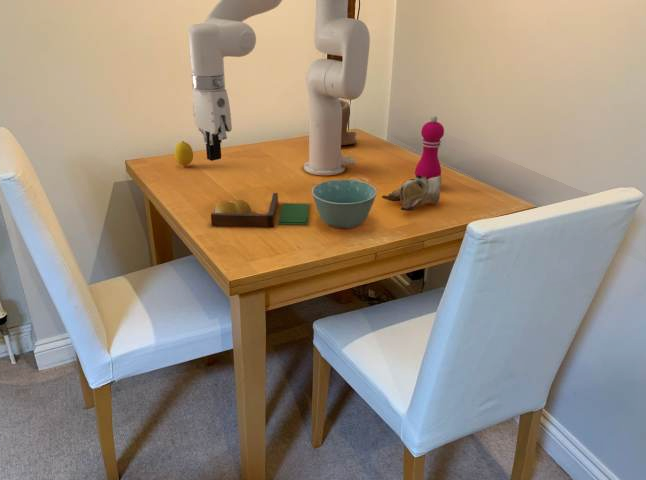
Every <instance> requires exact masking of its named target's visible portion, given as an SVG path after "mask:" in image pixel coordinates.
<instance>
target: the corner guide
mask: <svg viewBox="0 0 646 480" xmlns="http://www.w3.org/2000/svg"><path fill="white" fill-rule="evenodd" d="M278 206H279V193H278V192H273V193H272V196H271V201H270V206H269V209H268V212H267V213H250V214H240V213H215V212H211V214H210V220H211V221H210V222H211V227H232V228H233V227H235V228H236V227H237V228H274V225H275V219H276V216H277V210H278Z"/></svg>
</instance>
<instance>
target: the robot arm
mask: <svg viewBox="0 0 646 480" xmlns="http://www.w3.org/2000/svg"><path fill="white" fill-rule="evenodd" d="M282 2H283V0H219V1H218V2H217V3H216V5H215V6H214V7H213V8H212V10H211V11H210V12H209V14H208V15H207V16H206V18H205V20H204V21H203V23H195V24H192V25H190V26H189V27H188V29H187V38H188V49H189V50H188V51H189V60H190V71H191V73H190V74H191V82H192V83H191V85H192V108H193V109H192V111H193V122H194V125H195V127H196V128H198V131H199V133H201V134H202V136H203V140H204V143H205V151H206V160H208V161H210V162H213V161H216V160H221V159H222V146H221V144H222V141H223V140H227V139H228V136H227V133H229V132H231V131H232V127H233V126H232V125H233V124H232V114H231V108H230V106H231V105H230V99H229V95H228V92H227V89H226V80H225V79H226V77H225V64H224V63H225V62H224V61H225V60H224V58H225V57H229V58H230V57H232V58H233V57H236V58H242V57H245V56H247V55H249V54H251V53H252V52H253V50H254V49H255V47H256V44H257V36H256V32H255V31H254V29H253V28H252V27H251V26H250V25H249V24H247V23H245V22H244V21H245V20H247V19H249V18H251V17H254V16H257V15H261V14H264V13H268V12H269V11H271V10H274V9H275V8H277V7H279V6H280V5H281V3H282ZM348 7H349V0H315V16H314V17H315V20H314V37H313V39H314V40H313V41H314V47H315V49H316V50H317V51H318V52H320V53H322V54H326V55H330V56H338V57H342V61H341V60H336V59H330V58H319V59H316V60H313V62H311V63H310V64H309V66H308V68H307V69H306V73H305V74H306V75H305V81H306V87H307V93H308V102H309V103H308V104H309V117H308V118H309V120H308V121H309V128H308V129H309V132H308V138H309V139H308V161H306V162H305V163H304V164H303V170H304V171H305V172H306V173H308V174H311V175H315V176H324V177H327V176H336V175H339V174H342V173H344V172H345V171H346V165H347V166H356V160H357V159H356V158H352V156H344V155H342V154H343V153H342V145H341V130H342V107H341V103H340V100H346V101H347V100H348V101H353V100H357V99H359V98H360V96H361V95H362V94H363V93H364V89H365V86H366V82H367V81H366V80H367V74H368V66H369V65H368V64H369V55H370V44H371V36H370V31H369V28H368V26H367V24H366V23H365V22H364V21H362V20H361V19H356V18H351V17H350V18H349V17H348V9H349V8H348ZM339 99H340V100H339Z"/></svg>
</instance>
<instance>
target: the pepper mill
mask: <svg viewBox="0 0 646 480" xmlns="http://www.w3.org/2000/svg"><path fill="white" fill-rule="evenodd" d="M430 117H431V118H430V121H428V122H426V123H424V124H423V126H422V128H421V131H420V134H421V136H422V138H423V139H422V141H421V145H422V154H421V157H420V159H419V160H418V162H417V164H416V167H415V169H414V176H415V177H416V176H417V175H421V176H423V177H425V178H426V179H427V180H428V179H430V178H433V177H438V176H441V177H442V168H441V163H440V160H439V156H438V155H439V154H438V153H439V147H441V143H442V140H441V139H442V138H443V137H444V134H445V128H444V126H443V125H442V123H440V122H439V121H438V116H436V115H433V116H430Z"/></svg>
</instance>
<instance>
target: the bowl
mask: <svg viewBox="0 0 646 480" xmlns="http://www.w3.org/2000/svg"><path fill="white" fill-rule="evenodd" d="M311 194H312V197H313V201H314V204H315V207H316V209H317V212H318V215H319V217H320V219H321V221H322V222H324V224H326V225H328V226H329V227H332V228H335V229H340V230H347V229H348V230H349V229H354V228H356V227H359V226H360V225H361V224H363V223H364V222H365V221H366V220H367V218H368V216H369V213H370V211H371V209H372V207H373V204H374V202H375V199H376V197H377V194H378V191H377V189H376V187H375V186H373V185H372V184H370V183H368V182H365V181H361V180H356V179H331V180H330V179H329V180H325V181H322V182H319V183H317V184H315V185H314V186H313V187H312V189H311Z"/></svg>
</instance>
